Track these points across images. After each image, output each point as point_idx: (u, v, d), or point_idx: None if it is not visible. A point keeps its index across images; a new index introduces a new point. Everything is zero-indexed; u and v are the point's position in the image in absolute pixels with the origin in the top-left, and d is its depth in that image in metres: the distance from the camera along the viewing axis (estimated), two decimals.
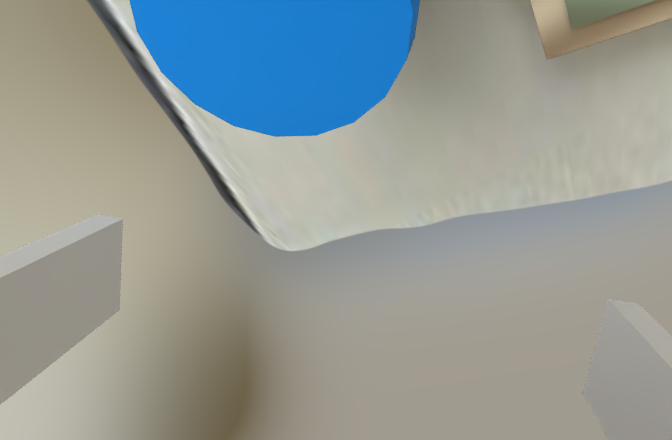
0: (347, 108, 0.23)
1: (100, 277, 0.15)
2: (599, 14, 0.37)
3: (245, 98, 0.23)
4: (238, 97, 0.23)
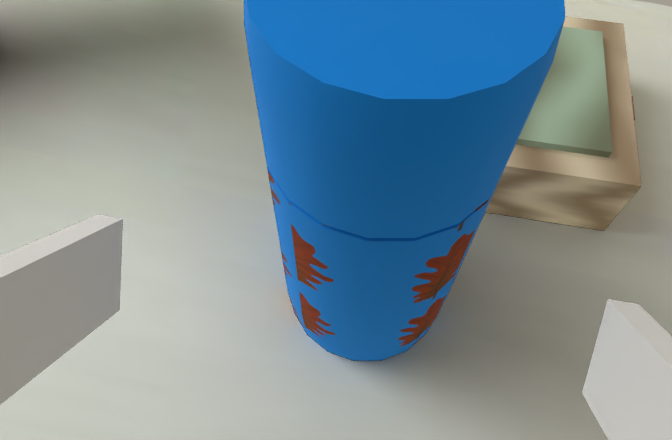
0: None
1: (100, 277, 0.15)
2: (605, 131, 0.39)
3: (474, 46, 0.17)
4: (468, 52, 0.17)
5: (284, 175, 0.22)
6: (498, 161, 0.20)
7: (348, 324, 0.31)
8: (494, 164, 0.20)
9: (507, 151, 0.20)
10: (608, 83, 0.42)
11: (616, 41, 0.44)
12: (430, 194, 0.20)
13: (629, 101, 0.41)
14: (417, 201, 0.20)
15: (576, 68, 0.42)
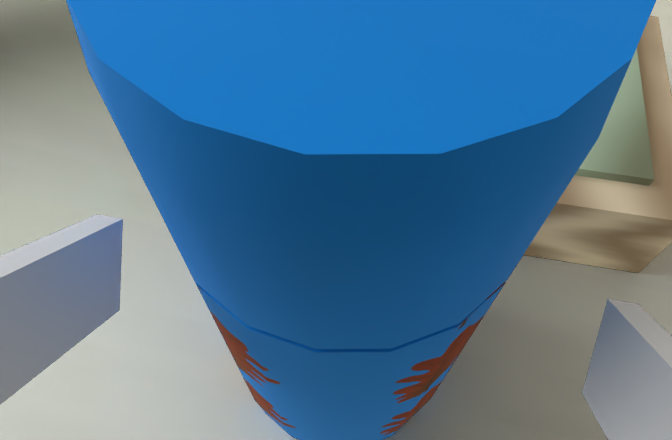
0: None
1: (100, 277, 0.15)
2: (644, 152, 0.31)
3: (492, 44, 0.09)
4: (480, 55, 0.09)
5: (181, 252, 0.14)
6: (527, 237, 0.12)
7: (310, 423, 0.23)
8: (520, 242, 0.12)
9: (542, 220, 0.12)
10: (644, 90, 0.34)
11: (650, 37, 0.36)
12: (411, 298, 0.11)
13: (671, 113, 0.33)
14: (390, 308, 0.12)
15: None
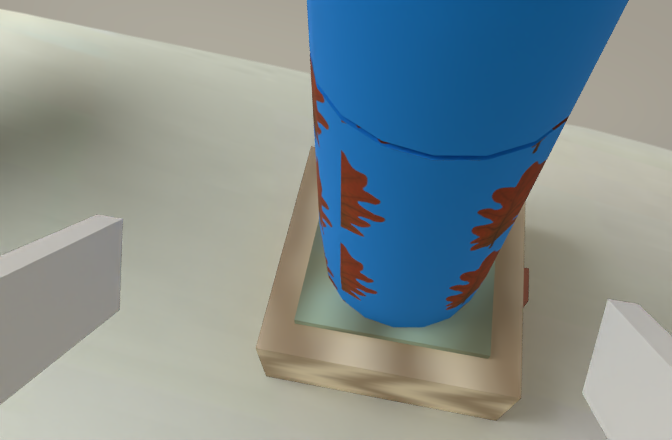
0: None
1: (100, 277, 0.15)
2: (485, 326, 0.34)
3: None
4: None
5: (340, 82, 0.19)
6: (591, 57, 0.18)
7: (394, 278, 0.28)
8: (586, 60, 0.18)
9: (602, 45, 0.18)
10: (499, 258, 0.38)
11: None
12: (515, 90, 0.17)
13: (520, 282, 0.37)
14: (499, 101, 0.17)
15: None
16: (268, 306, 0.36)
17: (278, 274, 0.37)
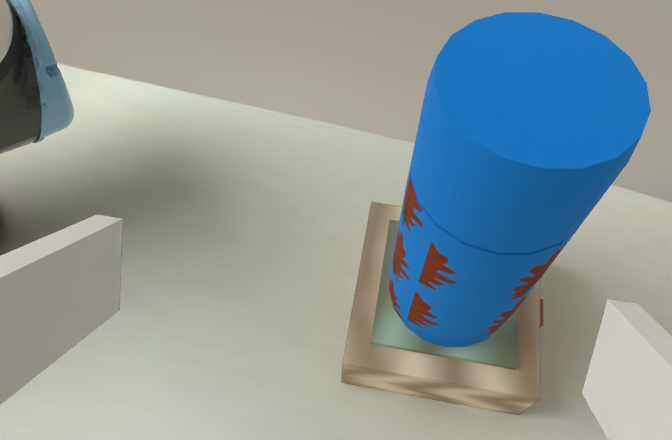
0: (631, 80, 0.28)
1: (100, 277, 0.15)
2: (513, 346, 0.47)
3: (594, 132, 0.26)
4: (590, 135, 0.26)
5: (440, 208, 0.31)
6: (596, 200, 0.30)
7: (454, 316, 0.40)
8: (593, 203, 0.29)
9: (603, 194, 0.29)
10: None
11: None
12: (552, 224, 0.29)
13: (537, 311, 0.49)
14: (542, 228, 0.29)
15: None
16: (349, 331, 0.48)
17: (355, 306, 0.49)
